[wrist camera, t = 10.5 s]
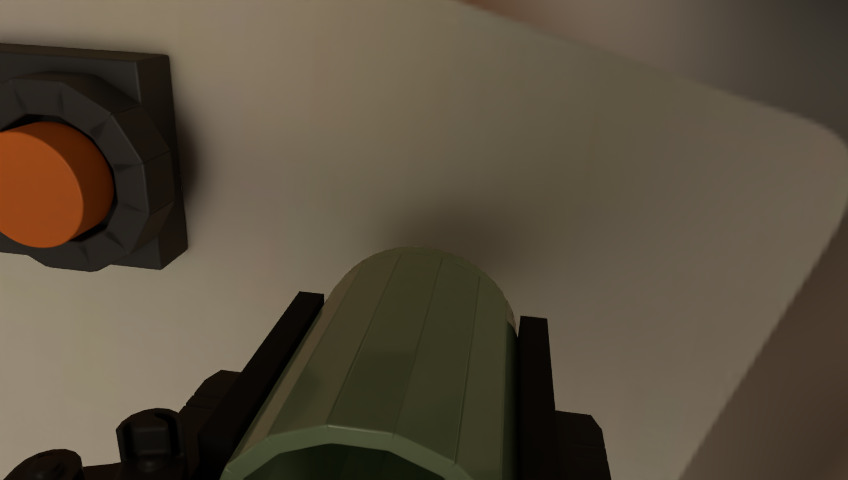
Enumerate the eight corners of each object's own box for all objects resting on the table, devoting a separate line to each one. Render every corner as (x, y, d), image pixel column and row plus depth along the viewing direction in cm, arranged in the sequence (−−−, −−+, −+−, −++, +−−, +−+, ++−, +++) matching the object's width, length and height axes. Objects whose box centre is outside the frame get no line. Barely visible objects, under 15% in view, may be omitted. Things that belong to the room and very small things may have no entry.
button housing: (192, 56, 24) (132, 68, 20) (210, 251, 27) (160, 294, 23) (-70, 37, 25) (-173, 46, 21) (-25, 226, 28) (-108, 263, 24)
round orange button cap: (106, 125, 21) (72, 136, 20) (121, 235, 23) (91, 254, 21) (-2, 116, 22) (-45, 126, 20) (20, 225, 23) (-17, 242, 22)
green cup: (528, 256, 17) (535, 452, 10) (506, 425, 20) (499, 686, 12) (325, 236, 18) (194, 407, 11) (327, 401, 20) (219, 636, 13)
